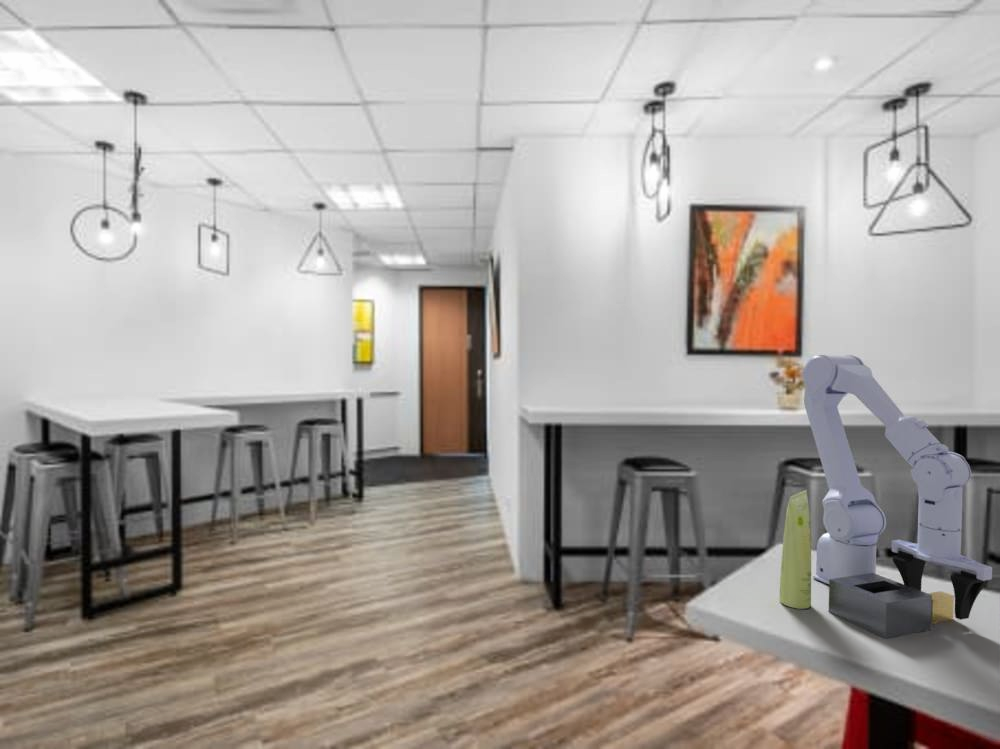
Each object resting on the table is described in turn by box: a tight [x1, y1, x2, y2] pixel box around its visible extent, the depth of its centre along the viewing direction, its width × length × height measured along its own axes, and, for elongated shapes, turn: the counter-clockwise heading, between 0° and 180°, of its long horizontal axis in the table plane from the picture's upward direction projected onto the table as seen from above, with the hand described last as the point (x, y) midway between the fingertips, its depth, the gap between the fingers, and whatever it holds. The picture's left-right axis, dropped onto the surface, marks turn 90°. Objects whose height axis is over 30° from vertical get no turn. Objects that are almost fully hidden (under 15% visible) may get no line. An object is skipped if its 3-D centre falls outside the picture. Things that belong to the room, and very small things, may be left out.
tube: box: [779, 489, 812, 610], centre depth 100 cm, size 6×5×20 cm
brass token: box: [927, 590, 955, 624], centre depth 95 cm, size 2×5×4 cm, turn 109°
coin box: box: [828, 573, 932, 639], centre depth 94 cm, size 10×10×6 cm
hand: (937, 608), depth 95 cm, fingers open, 7 cm apart
